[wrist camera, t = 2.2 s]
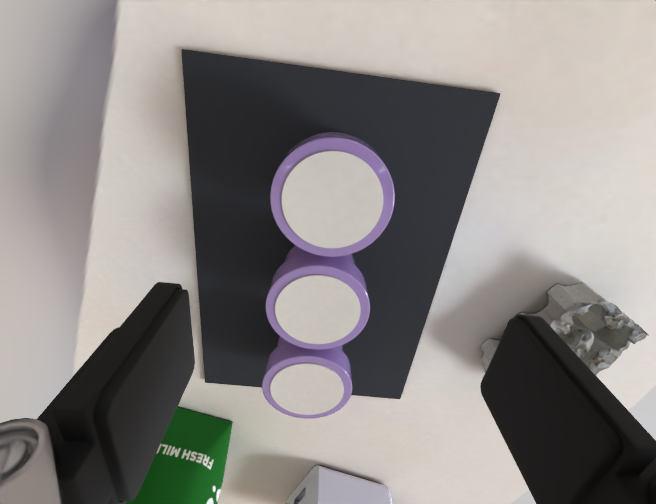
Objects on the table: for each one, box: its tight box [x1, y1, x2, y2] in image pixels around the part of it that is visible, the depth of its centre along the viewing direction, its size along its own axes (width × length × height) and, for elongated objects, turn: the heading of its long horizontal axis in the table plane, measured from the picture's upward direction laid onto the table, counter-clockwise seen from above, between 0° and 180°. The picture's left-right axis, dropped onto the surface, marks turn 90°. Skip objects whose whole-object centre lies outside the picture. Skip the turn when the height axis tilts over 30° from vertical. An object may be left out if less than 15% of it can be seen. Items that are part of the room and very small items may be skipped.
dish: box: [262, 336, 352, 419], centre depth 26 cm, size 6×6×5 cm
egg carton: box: [481, 282, 648, 375], centre depth 26 cm, size 11×8×4 cm
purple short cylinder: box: [270, 132, 395, 257], centre depth 19 cm, size 6×6×5 cm
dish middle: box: [266, 245, 370, 350], centre depth 22 cm, size 6×6×5 cm
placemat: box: [182, 49, 500, 399], centre depth 25 cm, size 26×18×1 cm
